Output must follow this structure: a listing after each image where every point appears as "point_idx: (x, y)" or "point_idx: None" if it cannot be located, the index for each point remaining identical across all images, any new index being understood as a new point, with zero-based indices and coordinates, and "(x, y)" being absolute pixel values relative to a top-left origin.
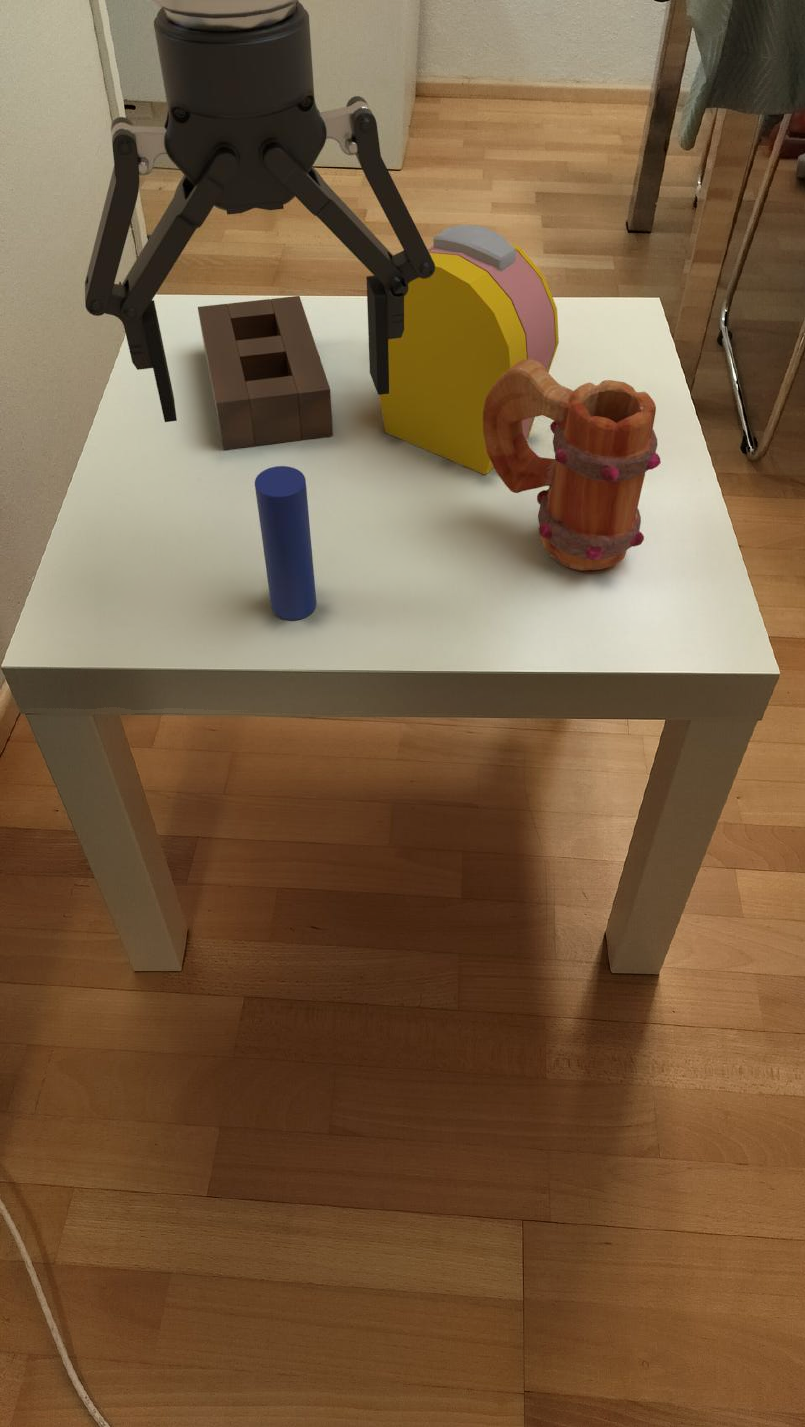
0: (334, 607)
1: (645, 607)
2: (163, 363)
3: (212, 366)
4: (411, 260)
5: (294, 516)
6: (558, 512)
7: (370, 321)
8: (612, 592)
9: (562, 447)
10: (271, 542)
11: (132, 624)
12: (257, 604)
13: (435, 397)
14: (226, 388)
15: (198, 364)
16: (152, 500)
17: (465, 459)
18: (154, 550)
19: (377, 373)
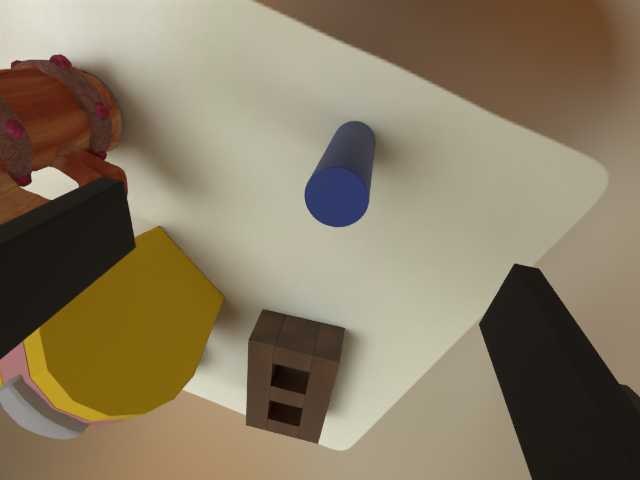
0: (320, 124)
1: (41, 2)
2: (582, 373)
3: (328, 394)
4: None
5: (334, 156)
6: (76, 113)
7: (29, 302)
8: (71, 38)
9: (4, 133)
10: (366, 157)
11: (499, 178)
12: (384, 157)
13: (165, 296)
14: (326, 371)
15: (331, 402)
16: (416, 304)
17: (169, 244)
18: (439, 254)
19: (87, 198)
